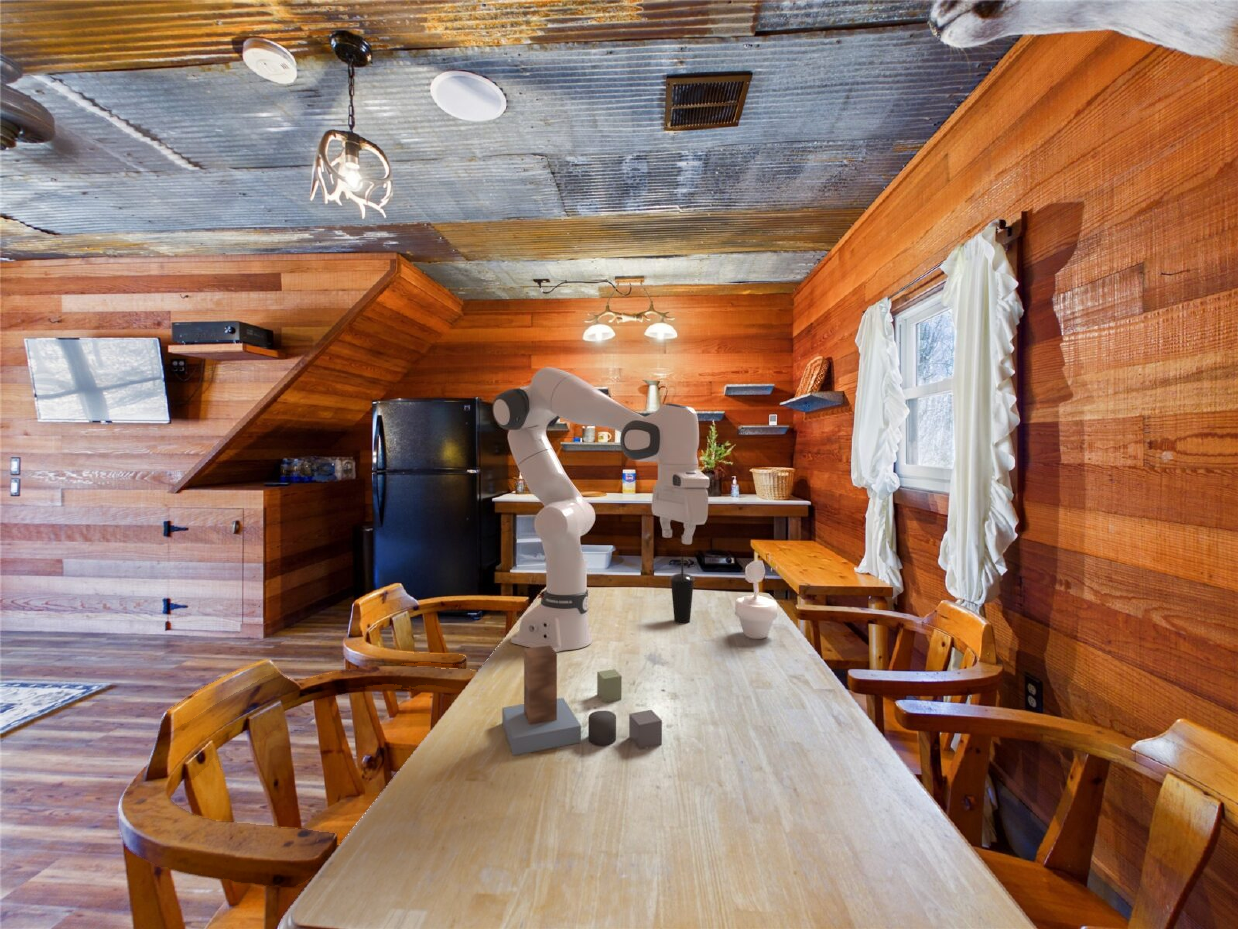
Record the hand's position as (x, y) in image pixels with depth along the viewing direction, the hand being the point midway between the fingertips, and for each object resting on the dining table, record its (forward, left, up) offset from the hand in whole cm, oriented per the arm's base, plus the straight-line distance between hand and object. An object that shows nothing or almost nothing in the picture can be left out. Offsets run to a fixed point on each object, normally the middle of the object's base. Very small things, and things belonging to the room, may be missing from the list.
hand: (676, 540), depth 119 cm
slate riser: (-18, -28, -33) cm, 47 cm away
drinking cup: (-11, +48, -33) cm, 59 cm away
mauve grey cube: (+1, -23, -33) cm, 40 cm away
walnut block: (-18, -28, -30) cm, 45 cm away
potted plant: (+12, +43, -33) cm, 56 cm away
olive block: (-12, -9, -33) cm, 36 cm away
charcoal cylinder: (-7, -26, -33) cm, 42 cm away
